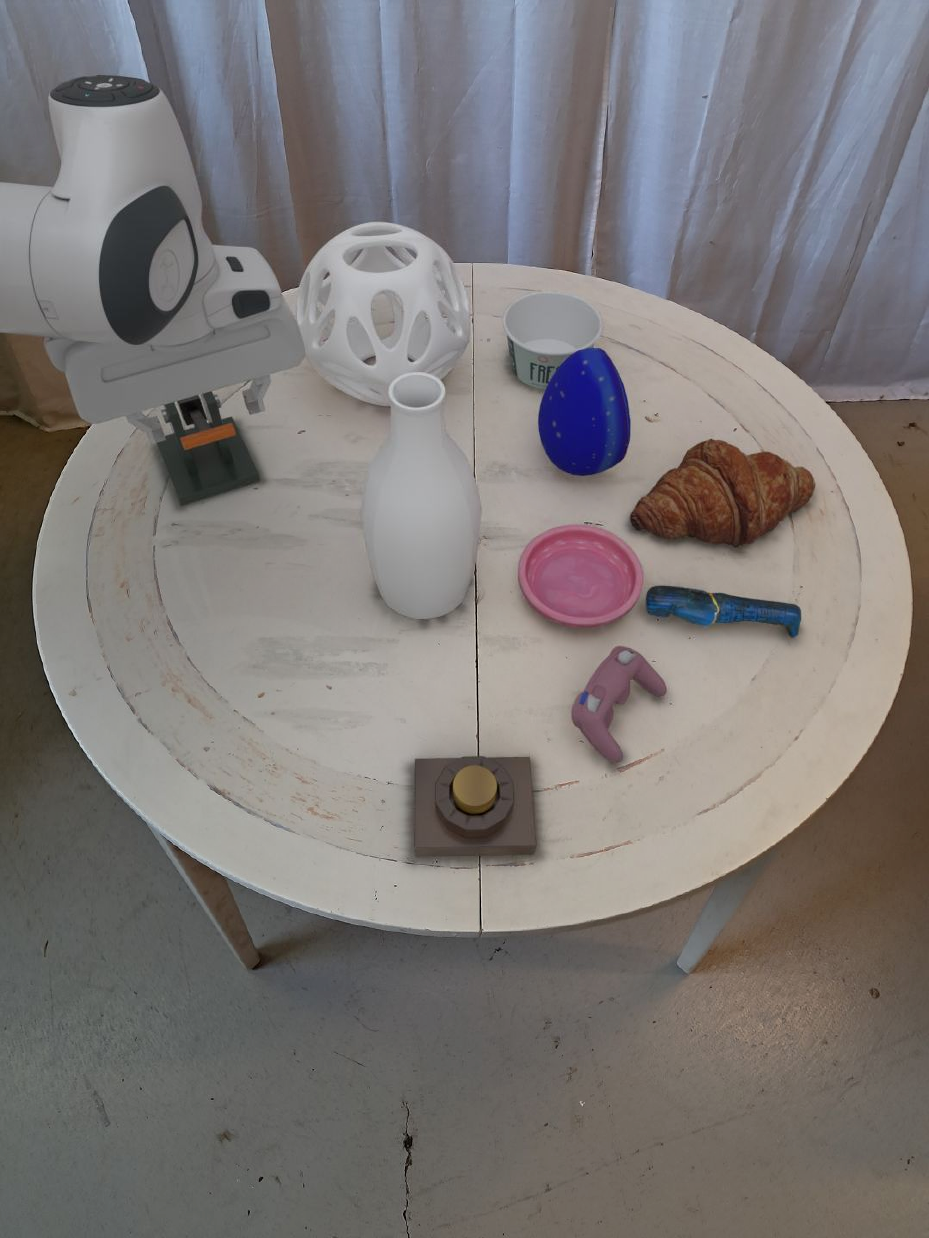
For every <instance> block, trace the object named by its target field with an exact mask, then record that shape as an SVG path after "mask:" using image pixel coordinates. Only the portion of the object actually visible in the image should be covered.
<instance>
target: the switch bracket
mask: <svg viewBox="0 0 929 1238" xmlns="http://www.w3.org/2000/svg"><path fill="white" fill-rule="evenodd" d="M199 396H200V399H201V402H202V405H203V408H204V411H205V414H206V417H207V423H208V424H209V426H210V427H211V429H212V428H215V427H219V426H222V425H225V424H229V423H232V424H233V427H234V429H235V433H236V435H234V436H231V437H227V438H224V439H221V440H217V441H214V442H211V443H207V444H204V445H201V446H197V447H194V448H191V449H187V450H184V448H183V445H182V442H181V439H180V438H181V437H185V436H188V435H192V434H195V433H198V431H197V429H196V428H195V426H194V427H191V428H190V427H189V428H187V429H185V428H184V425H183V422H182V419H181V416H180V413H179V410H178V408H177V405H176V403H175V402H172V403H169V404H165V405H163V408H164V409H161V410H160V412H161V415H162V418H163V421H164V423H165V424H168V423H169V425H170V428H171V431H172V433H170V434H167V435H165V438H166V440H165V441H162V442H159V443H155V445H156V446H157V449H158V451H159V455H160V457H161V459H162V461H163V464H164V468H165V470H166V472H167V474H168V477H169V479H170V482H171V485H172V487H173V489H174V492H175V495H176V497H177V500H178V503H179V505H180V506H184V505H188V504H190V503H193V502H197V501H200V500H203V499H206V498H210V497H212V496H213V497H214V496H215V495H220V494H222V493H226V492H229V491H232V490H235V489H238V488H241V487H244V486H248V485H250V484H254V483H258V482H260V481H261V477H260V473H259V471H258V468H257V466H256V464H255V462H254V460H253V458H252V456H251V453H250V451H249V449H248V447H247V445H246V443H245V441H244V439H243V436H242V435H241V432H240V430H239V428H238V426H237V424H236V422H235V420H234V417H233V416H227V417H225V418H222V415H221V411H220V409H221V408H222V404H221V400H220V398H219V395H218V394H214V393H213V391H210V392H207V393H203V394H200V395H199Z"/></svg>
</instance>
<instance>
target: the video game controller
mask: <svg viewBox="0 0 929 1238" xmlns="http://www.w3.org/2000/svg"><path fill="white" fill-rule="evenodd" d="M632 680H633V681H634V682H636V683H637V684H639V685H640V686H641V687H642V688H643V689H644V690H645V691H647V692H649V693H650V694H652V695H653V696H657V697H664V696H666V695H667V690H668V689H667V685H666V682H665V680H664V679H663V678H662V676H661V675H660V674H659V673H658V671H656V669H654V667H653V666H652V665H651V664H650V663H649V661H647V659H646V658H645V657H644V656H643V655H642V654H641V653H639V652H638V651H636V650H635V649H633V648H631V647H627V646H623V645H618V646H615V647H614V648H612V650H611V651H610V653H609V655H608V656H606V657H605V658H604V660H602V661H601V663H600V664H599V665H598V666H597V668H596V669H595V671H594V672H593V673H592V676H591V677H590V678H589V680H588V681H587V683H586V685H585V687H584V689H583V691H581V692H580V693H579V694H578V695H577V696H576V698H575V700H574V701H573V703H572V707H571V713H570V714H571V721H572V724H573V725H574V727H575V728H577V729H579V730H580V732H581V734H582V735H583V736H584V739H586V740H587V742H588V743H589V744H590V745H591V746H592V748H593V749H594V750H595V751H596V752H597V753H598V754H599V755H600V756H601V757H603V758H604V759H606V760H607V761H609V762H611V763H620V762H621V761H622V760H623V758H624V757H623V751H622V748H621V746H620V745H619V743H618V742H617V741H616V739H615V738H614V737H613V735H612V734H611V732H610V730H609V729H608V728H609V727H610V726H611V725H612V722H613V719H614V712H615V711H614V708H613V706H614V705H615V704H617V705H622V706H623V705H624V704H625V703H627V702H628V700H629V698H630V695H631V681H632Z"/></svg>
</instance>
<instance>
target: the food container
mask: <svg viewBox="0 0 929 1238" xmlns="http://www.w3.org/2000/svg"><path fill="white" fill-rule="evenodd" d="M501 323H502V328H503V330H504V331H503V332H505V335H506V337H507V338H506V339H507V345H508V346H507V347H508V352H509V361H510V368H511V371H512V373H513V375H514V376H515V378H517V379H518V380H519V381H520V382H521V383H523V384H525V385H527V386H529V387H532V388H535V389H539V390H544V391H545V390H546V387H547V385H548V384H549V382H550V380H551V378H552V376H553V375H554V373H555V372H556V370H557V369H558V368H559V366H560V365H561V364H562V363H563V362H564V361H565V359H566V358H568V357H569V356H570V355H572V354H573V353H575V352H576V351H578V350H582V349H586V348H595V344H596V343H598V341H599V340H600V338H601V336H602V334H603V331H604V321H603V317H602V315H601V313H600V312H599V311H598V309H597V308H596V307H595V306H594V305H593V304H592V303H591V302H589V301H587V299H584V298H583V297H580V296H578V295H575V294H572V293H568V292H564V291H558V290H557V291H556V290H542V291H540V290H539V291H533V292H530V293H527V294H524V295H521V296H519V297H517V298H515V299H514V300H513V301H512V302H511V303H509V304H508V306H506V307H505V310H504V312H503V314H502V319H501Z"/></svg>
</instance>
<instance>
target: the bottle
mask: <svg viewBox="0 0 929 1238" xmlns="http://www.w3.org/2000/svg"><path fill="white" fill-rule="evenodd" d="M446 394H447V391H446V387H445V385H444V382H443V381H442V380H440V379H439V378H437V377H435V376H433V375H432V374H428V373H424V372H411V373H406V374H403V375H401V376H399V377H397V378H396V379H394V380H393V381H392V383H391V384H390V386H389V391H388V397H389V401H390V402H391V407H390V432H389V434H388V435H387V436H386V438H385V439H384V440H383V442H382V443H381V445H380V446H379V447H378V448H377V450H376V452H375V453H374V455H373V456H372V458H371V460H370V464H369V467H368V470H367V473H366V476H365V479H364V483H363V488H362V495H361V505H360V515H359V517H360V522H361V527H362V533H363V538H364V543H365V548H366V553H367V554H366V555H367V558H368V563H369V567H370V569H371V573H372V575H373V578H374V581H375V583H376V587H377V589H378V592H379V594H380V597H381V598H382V600H383V601H384V602H385V604H386V605H387V607H389V608H390V609H391V610H393V611H394V612H395V613H397V614H399V615H400V616H401V615H402V616H404V617H408V618H411V619H413V620H414V619H416V620H429V619H435V618H441V617H443V616H445V615H447V614H449V613H451V612H453V611H454V610H455V609H456V608H458V606H460V604H462V602H464V600H465V597H466V595H467V594H468V591H469V588H470V586H471V585H470V584H471V581H472V577H473V574H474V570H475V566H476V564H477V559H478V549H479V542H480V541H479V540H480V534H481V533H480V531H481V523H482V512H483V508H482V503H481V497H480V492H479V487H478V484H477V481H476V477H475V475H474V473H473V470H472V468H471V465H470V463H469V460H468V458H467V456H466V453H465V452H464V450H463V449H462V448H461V447H460V446H459V444H458V443H457V442H456V441H455V440H454V439H453V438H452V437H451V435H450V434H449V432H448V431H447V429H446V414H445V413H446V412H445V400H446Z"/></svg>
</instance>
